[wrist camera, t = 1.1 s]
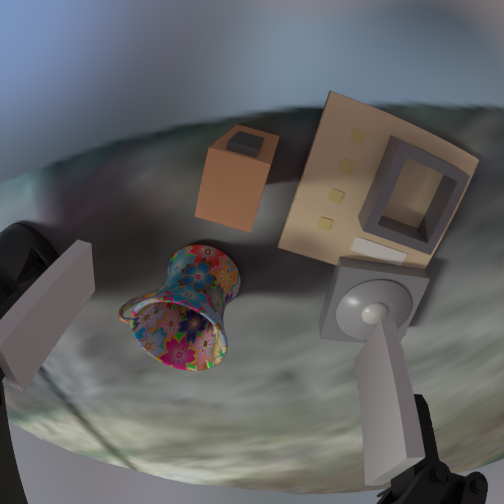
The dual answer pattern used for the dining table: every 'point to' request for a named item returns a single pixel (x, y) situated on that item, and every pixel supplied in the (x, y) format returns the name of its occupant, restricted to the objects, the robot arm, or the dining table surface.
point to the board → (375, 188)
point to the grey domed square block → (370, 298)
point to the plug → (236, 177)
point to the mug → (187, 310)
